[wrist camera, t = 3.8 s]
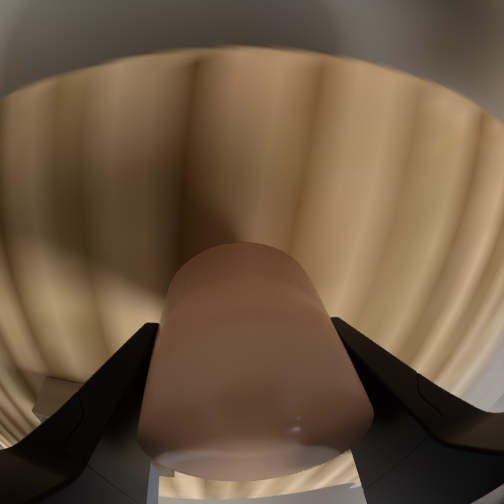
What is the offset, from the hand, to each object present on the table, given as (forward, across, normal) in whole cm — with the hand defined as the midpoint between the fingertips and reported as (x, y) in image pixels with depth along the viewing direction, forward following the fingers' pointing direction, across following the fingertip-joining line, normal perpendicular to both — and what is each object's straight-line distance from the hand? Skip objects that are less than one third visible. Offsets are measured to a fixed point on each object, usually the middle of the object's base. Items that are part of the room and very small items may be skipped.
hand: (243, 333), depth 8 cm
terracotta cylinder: (+1, 0, 0) cm, 1 cm away
